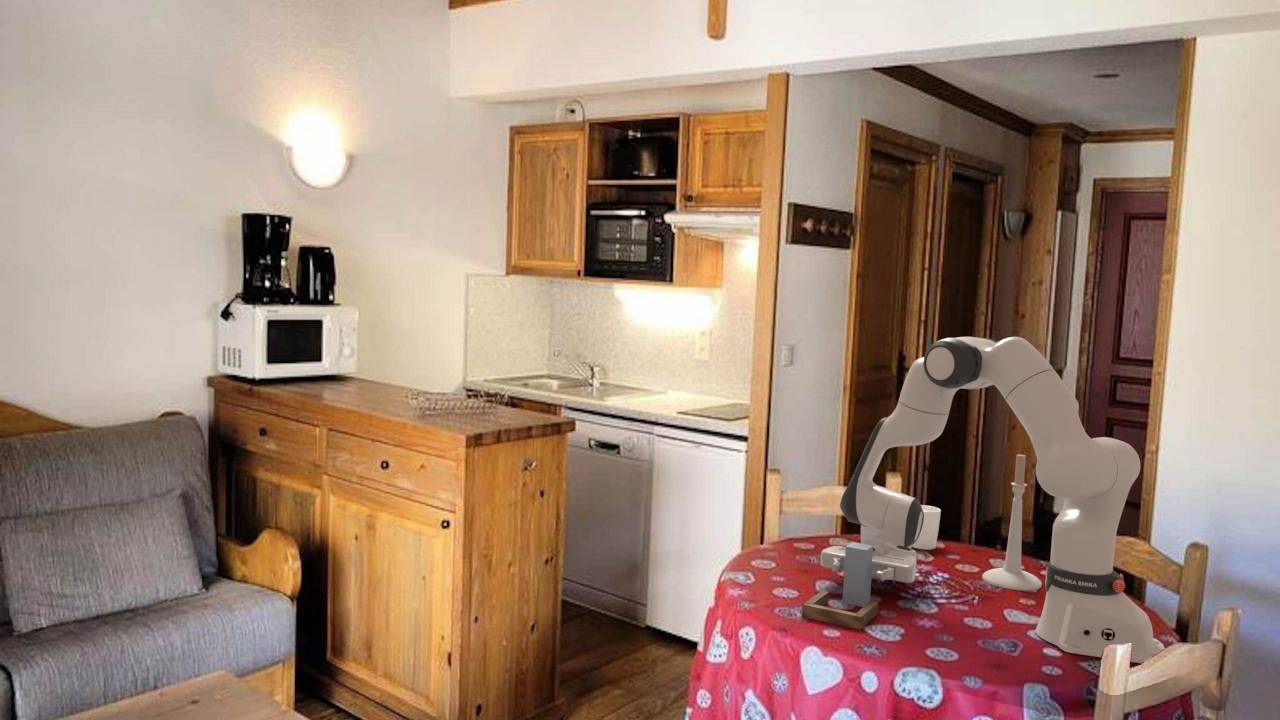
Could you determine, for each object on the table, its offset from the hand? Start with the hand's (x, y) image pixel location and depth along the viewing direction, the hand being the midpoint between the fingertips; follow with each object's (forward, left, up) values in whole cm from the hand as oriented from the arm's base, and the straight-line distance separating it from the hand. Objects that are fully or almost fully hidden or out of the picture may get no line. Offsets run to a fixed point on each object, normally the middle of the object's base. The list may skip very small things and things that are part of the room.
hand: (857, 572), depth 206 cm
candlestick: (-25, -38, -7) cm, 46 cm away
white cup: (0, -56, -7) cm, 56 cm away
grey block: (0, -1, -7) cm, 7 cm away
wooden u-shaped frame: (0, +10, -7) cm, 12 cm away
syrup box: (+12, -51, -7) cm, 52 cm away
